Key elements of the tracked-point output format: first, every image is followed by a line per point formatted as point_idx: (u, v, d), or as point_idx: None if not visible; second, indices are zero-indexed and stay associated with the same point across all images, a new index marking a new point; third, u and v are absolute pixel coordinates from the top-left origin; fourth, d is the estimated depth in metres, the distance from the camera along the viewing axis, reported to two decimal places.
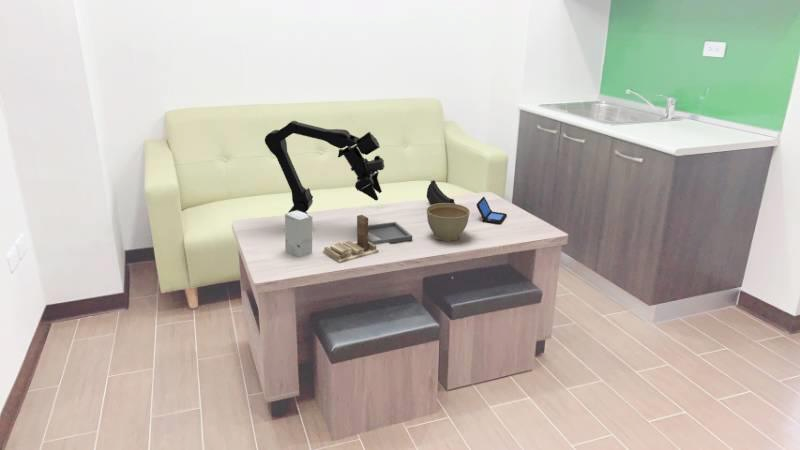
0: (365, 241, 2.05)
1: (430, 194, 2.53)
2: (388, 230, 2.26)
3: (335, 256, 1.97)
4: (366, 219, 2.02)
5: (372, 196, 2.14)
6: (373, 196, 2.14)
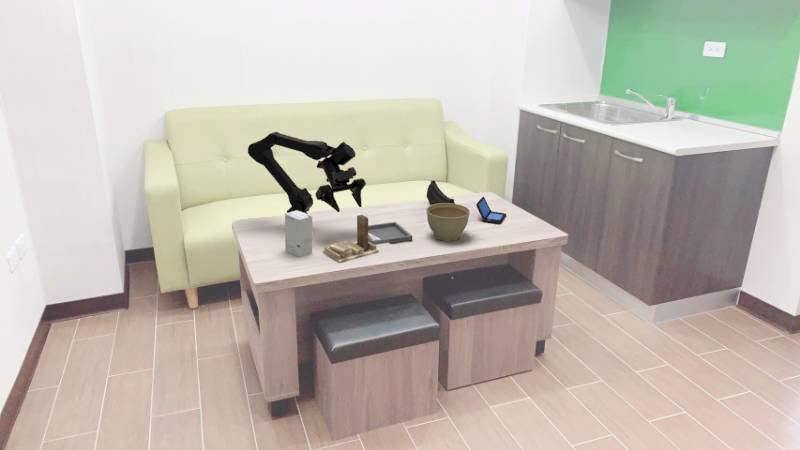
0: (365, 241, 2.05)
1: (430, 194, 2.53)
2: (388, 230, 2.26)
3: (335, 256, 1.97)
4: (366, 219, 2.02)
5: (334, 207, 2.07)
6: (335, 207, 2.07)
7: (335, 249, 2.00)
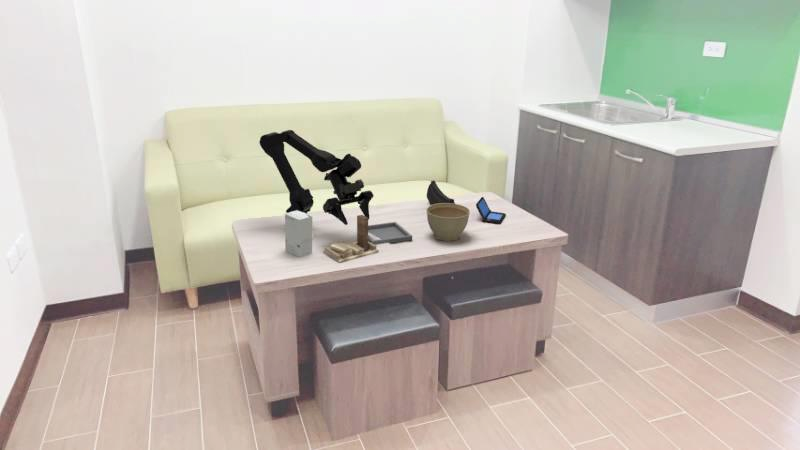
0: (365, 241, 2.05)
1: (430, 194, 2.53)
2: (388, 230, 2.26)
3: (335, 256, 1.97)
4: (366, 219, 2.02)
5: (341, 220, 2.04)
6: (343, 220, 2.04)
7: (336, 249, 2.00)
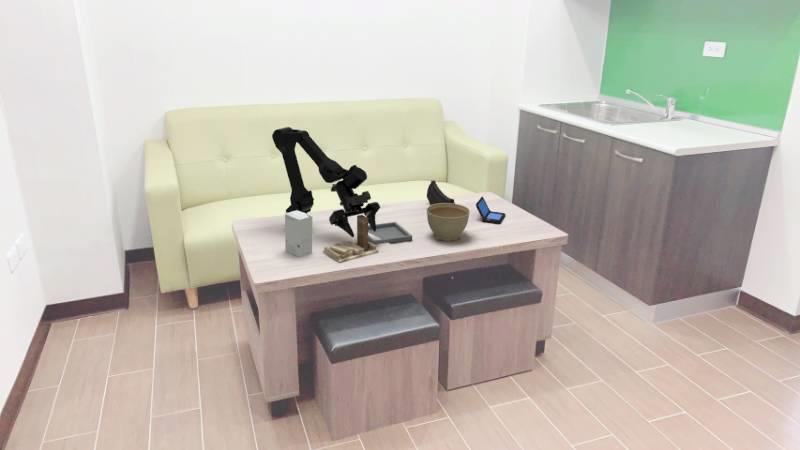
0: (365, 241, 2.05)
1: (430, 194, 2.53)
2: (388, 230, 2.26)
3: (335, 256, 1.97)
4: (366, 219, 2.02)
5: (348, 232, 2.02)
6: (349, 232, 2.02)
7: (336, 250, 2.00)
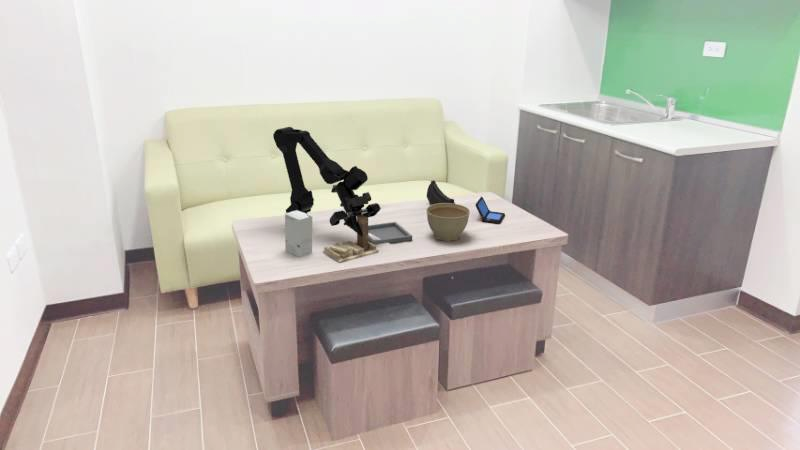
0: (365, 241, 2.05)
1: (430, 194, 2.53)
2: (388, 230, 2.26)
3: (335, 256, 1.97)
4: (366, 219, 2.02)
5: (357, 231, 2.04)
6: (358, 231, 2.04)
7: (336, 250, 2.00)
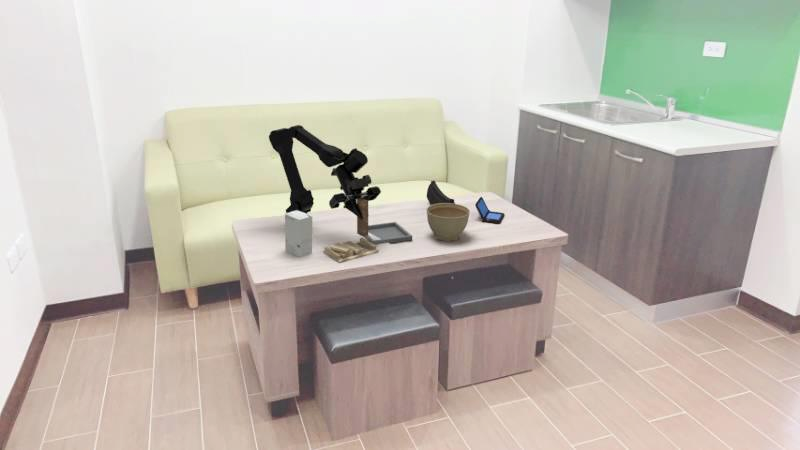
0: (365, 225, 2.02)
1: (430, 194, 2.53)
2: (388, 230, 2.26)
3: (335, 256, 1.97)
4: (366, 202, 2.00)
5: (356, 214, 2.02)
6: (358, 214, 2.02)
7: (337, 250, 2.00)
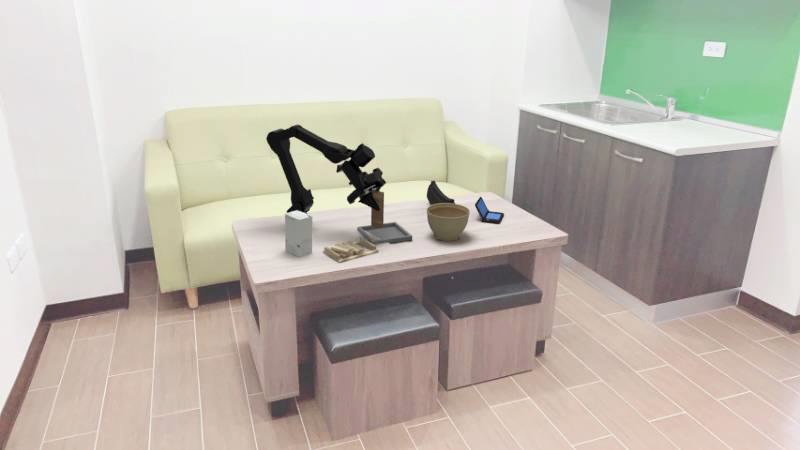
0: (381, 216, 2.10)
1: (430, 194, 2.53)
2: (388, 230, 2.26)
3: (335, 256, 1.97)
4: (382, 193, 2.07)
5: (373, 207, 2.08)
6: (374, 206, 2.08)
7: (338, 250, 2.00)
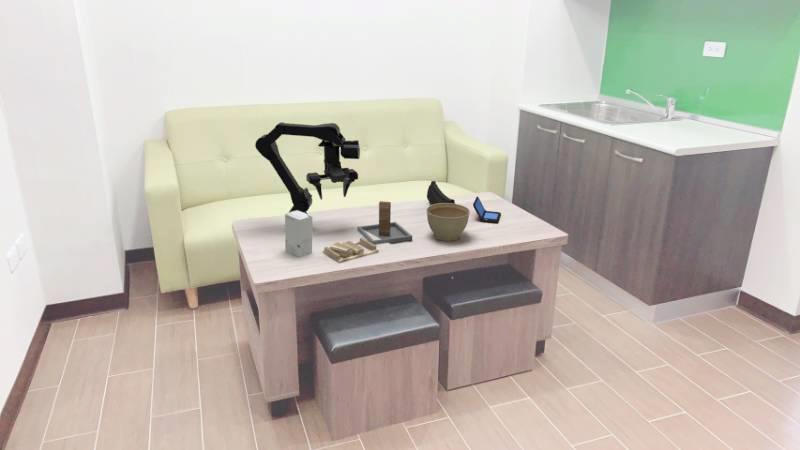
0: (389, 225, 2.19)
1: (430, 194, 2.53)
2: None
3: (335, 256, 1.97)
4: (390, 203, 2.17)
5: (318, 193, 2.20)
6: (319, 194, 2.19)
7: (337, 249, 2.00)
